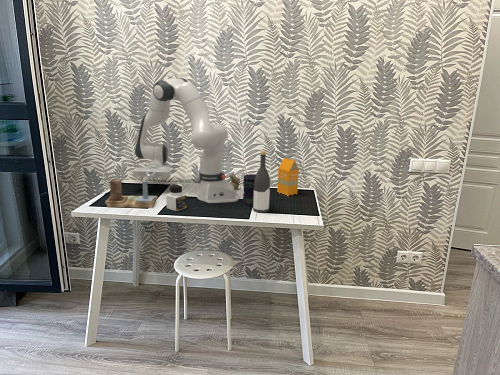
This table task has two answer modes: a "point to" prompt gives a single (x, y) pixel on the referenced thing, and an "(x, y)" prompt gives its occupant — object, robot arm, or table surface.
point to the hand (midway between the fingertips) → (149, 176)
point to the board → (130, 202)
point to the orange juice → (288, 177)
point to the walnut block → (116, 190)
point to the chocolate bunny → (234, 181)
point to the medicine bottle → (176, 198)
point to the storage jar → (248, 190)
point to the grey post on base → (145, 194)
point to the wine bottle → (261, 187)
